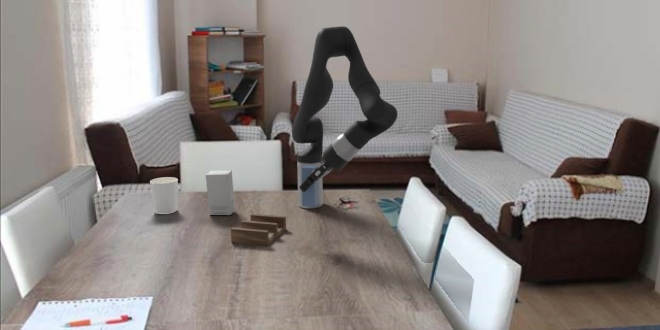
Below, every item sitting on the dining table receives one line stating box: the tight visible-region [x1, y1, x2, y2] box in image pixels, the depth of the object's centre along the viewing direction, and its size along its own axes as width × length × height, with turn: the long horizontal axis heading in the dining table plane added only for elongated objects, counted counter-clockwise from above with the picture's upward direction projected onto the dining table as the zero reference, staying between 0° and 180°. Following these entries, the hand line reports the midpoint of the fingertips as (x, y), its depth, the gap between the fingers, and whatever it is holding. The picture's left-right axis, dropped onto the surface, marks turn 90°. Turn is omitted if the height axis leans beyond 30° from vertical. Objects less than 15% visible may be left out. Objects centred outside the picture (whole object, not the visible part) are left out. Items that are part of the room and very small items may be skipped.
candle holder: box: [149, 176, 179, 213], centre depth 216 cm, size 10×10×12 cm
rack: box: [230, 213, 287, 247], centre depth 189 cm, size 16×12×4 cm
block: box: [302, 165, 319, 207], centre depth 180 cm, size 4×4×12 cm
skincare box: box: [205, 169, 236, 216], centre depth 212 cm, size 8×7×16 cm
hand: (304, 187), depth 181 cm, fingers closed on block, 4 cm apart
